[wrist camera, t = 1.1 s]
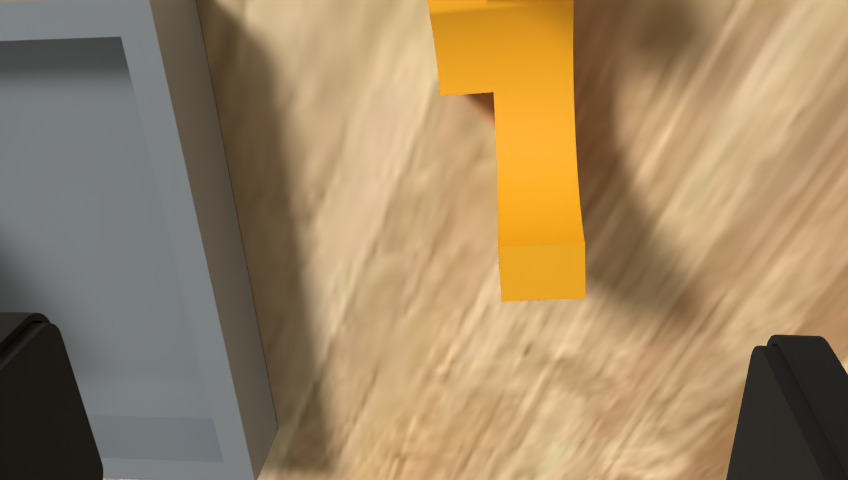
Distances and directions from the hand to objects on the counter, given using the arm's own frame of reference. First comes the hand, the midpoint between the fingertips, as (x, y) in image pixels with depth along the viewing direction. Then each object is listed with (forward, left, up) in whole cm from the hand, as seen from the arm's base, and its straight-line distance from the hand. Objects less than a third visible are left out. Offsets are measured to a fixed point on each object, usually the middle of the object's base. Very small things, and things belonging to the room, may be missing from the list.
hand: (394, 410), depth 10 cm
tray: (+16, +7, -18) cm, 26 cm away
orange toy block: (-1, 0, -19) cm, 19 cm away
